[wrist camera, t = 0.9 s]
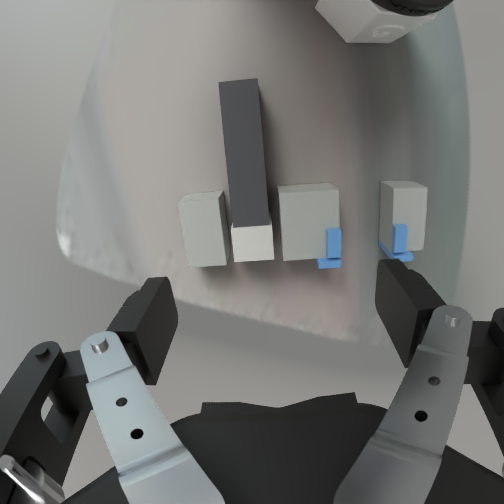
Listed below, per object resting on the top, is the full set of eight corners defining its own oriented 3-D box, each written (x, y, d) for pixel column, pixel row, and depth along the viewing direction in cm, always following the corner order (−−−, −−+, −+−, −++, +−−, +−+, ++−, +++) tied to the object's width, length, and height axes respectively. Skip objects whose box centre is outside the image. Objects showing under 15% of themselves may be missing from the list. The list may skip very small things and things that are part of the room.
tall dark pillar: (222, 88, 26) (215, 82, 22) (260, 84, 26) (259, 77, 22) (238, 244, 31) (234, 262, 28) (272, 242, 31) (274, 259, 27)
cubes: (186, 194, 30) (174, 205, 26) (411, 180, 28) (432, 189, 24) (196, 258, 32) (187, 278, 28) (408, 242, 31) (426, 259, 27)
